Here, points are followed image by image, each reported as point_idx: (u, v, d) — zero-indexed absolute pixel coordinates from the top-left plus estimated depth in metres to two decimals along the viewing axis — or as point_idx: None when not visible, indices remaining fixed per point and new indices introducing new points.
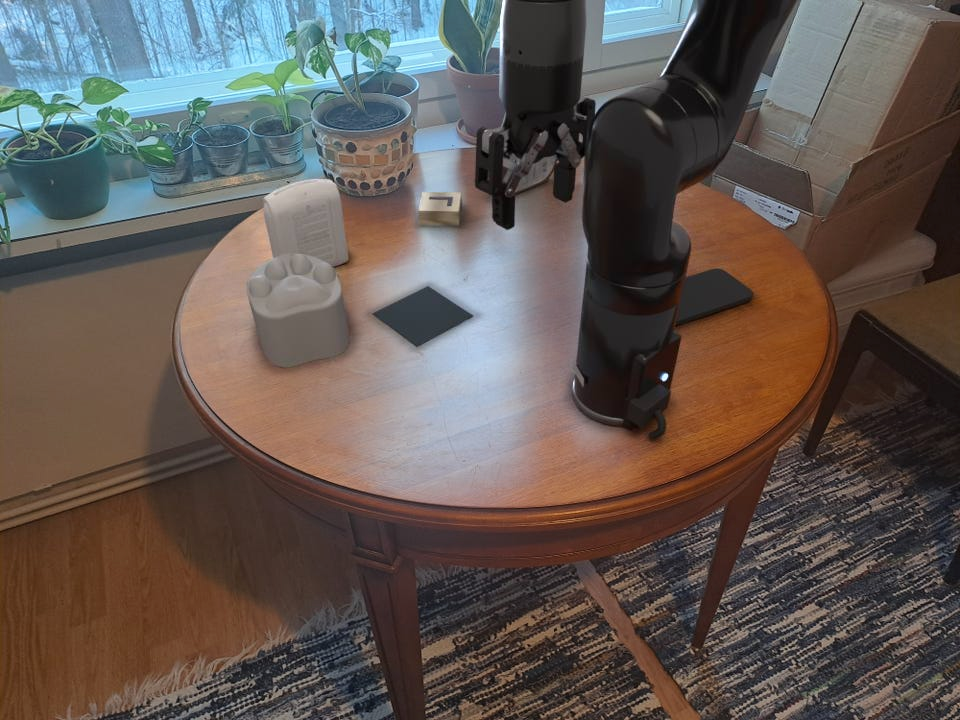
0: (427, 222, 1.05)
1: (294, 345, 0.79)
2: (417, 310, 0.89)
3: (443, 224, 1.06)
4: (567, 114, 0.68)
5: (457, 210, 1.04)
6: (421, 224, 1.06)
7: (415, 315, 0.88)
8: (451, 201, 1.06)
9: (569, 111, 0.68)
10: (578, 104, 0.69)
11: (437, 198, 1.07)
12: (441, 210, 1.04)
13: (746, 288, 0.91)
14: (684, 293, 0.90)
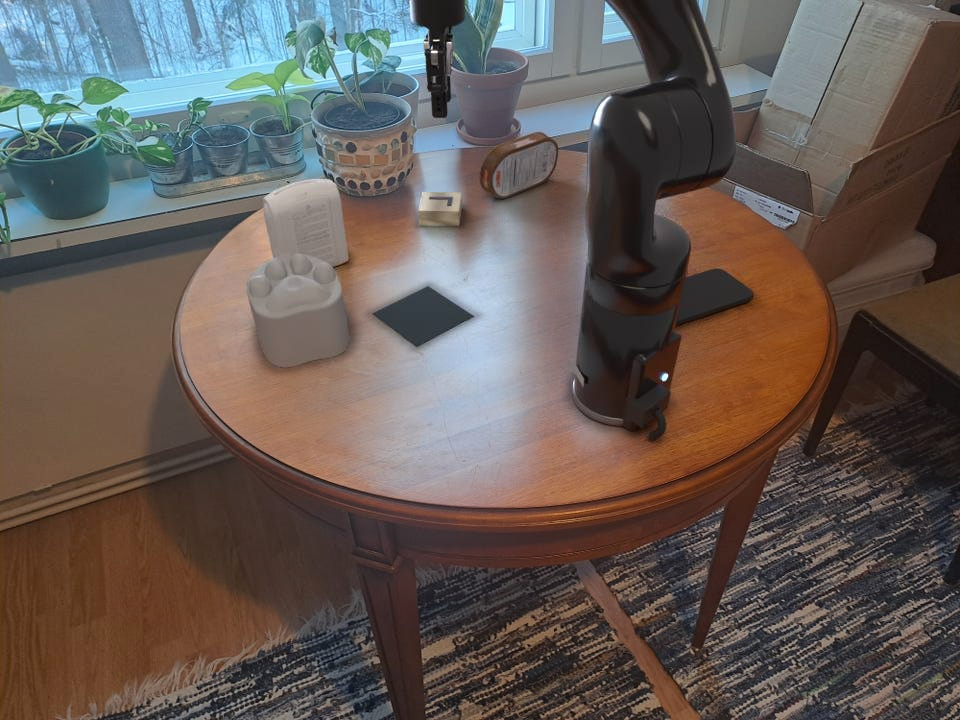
0: (427, 222, 1.05)
1: (294, 345, 0.79)
2: (417, 310, 0.89)
3: (443, 224, 1.06)
4: (448, 28, 1.01)
5: (457, 210, 1.04)
6: (421, 224, 1.06)
7: (415, 315, 0.88)
8: (451, 201, 1.06)
9: (448, 26, 1.01)
10: None
11: (437, 198, 1.07)
12: (441, 210, 1.04)
13: (746, 288, 0.91)
14: (684, 293, 0.90)
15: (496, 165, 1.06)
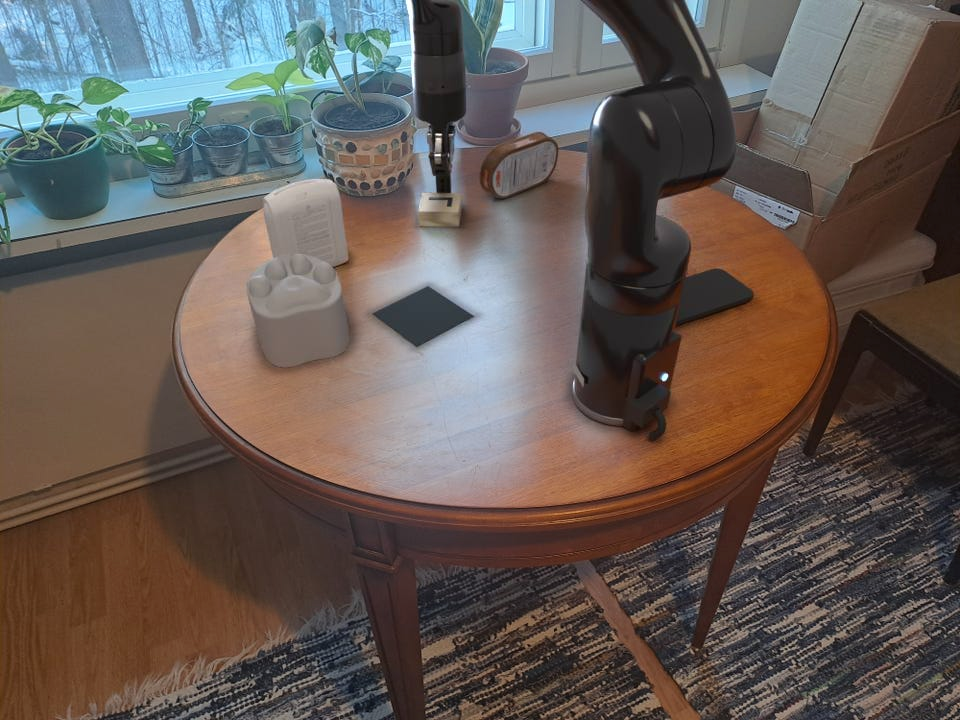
0: (427, 223, 1.05)
1: (294, 345, 0.79)
2: (417, 310, 0.89)
3: (443, 225, 1.05)
4: None
5: (457, 211, 1.04)
6: (421, 225, 1.06)
7: (415, 315, 0.88)
8: (451, 202, 1.06)
9: None
10: None
11: (437, 199, 1.07)
12: (441, 210, 1.04)
13: (746, 288, 0.91)
14: (684, 293, 0.90)
15: (496, 164, 1.06)
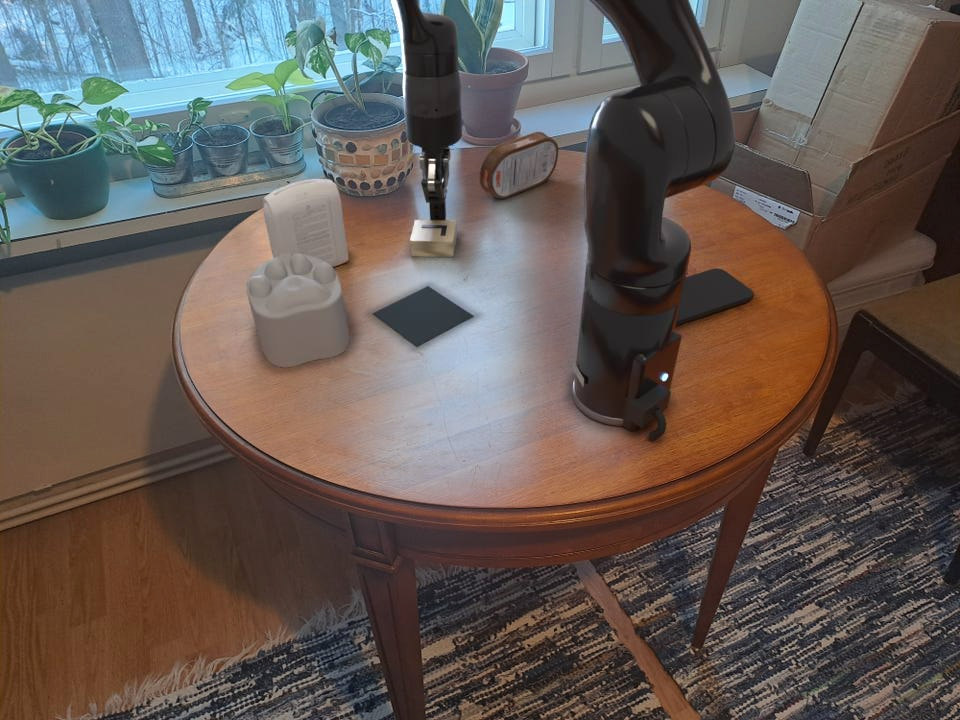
0: (419, 253, 0.99)
1: (294, 345, 0.79)
2: (417, 310, 0.89)
3: (436, 255, 0.99)
4: None
5: (451, 240, 0.98)
6: (413, 255, 0.99)
7: (415, 315, 0.88)
8: (445, 230, 1.00)
9: None
10: None
11: (430, 227, 1.00)
12: (434, 240, 0.98)
13: (746, 288, 0.91)
14: (684, 293, 0.90)
15: (496, 165, 1.06)
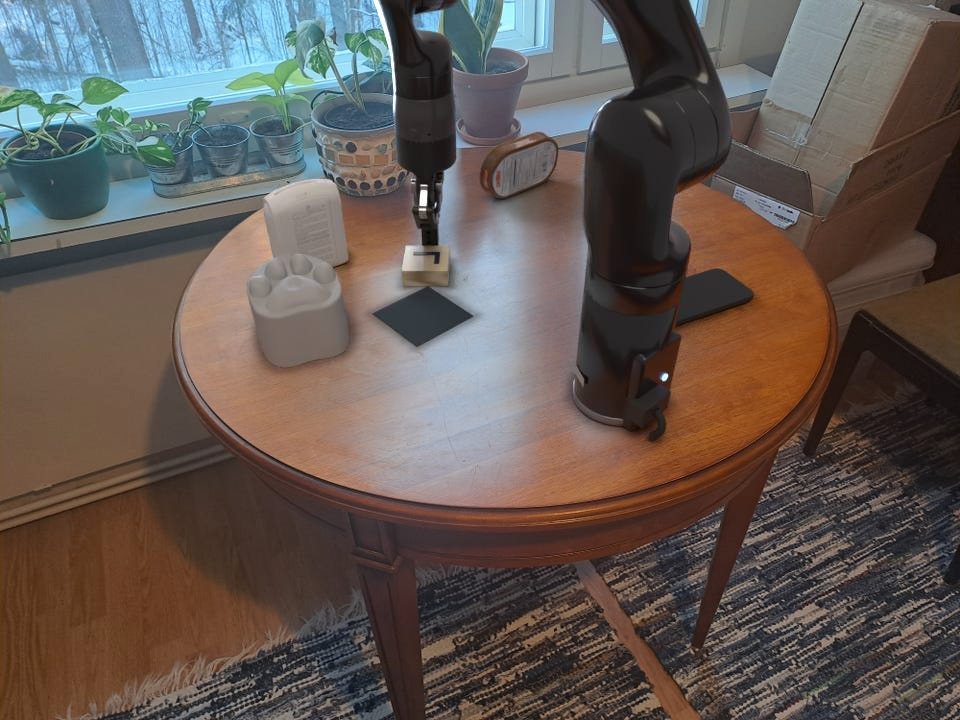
0: (412, 283, 0.93)
1: (294, 345, 0.79)
2: (417, 310, 0.89)
3: (430, 284, 0.93)
4: None
5: (446, 269, 0.92)
6: (405, 285, 0.93)
7: (415, 315, 0.88)
8: (438, 257, 0.94)
9: None
10: None
11: (422, 254, 0.95)
12: (427, 269, 0.92)
13: (746, 288, 0.91)
14: (684, 293, 0.90)
15: (496, 164, 1.06)
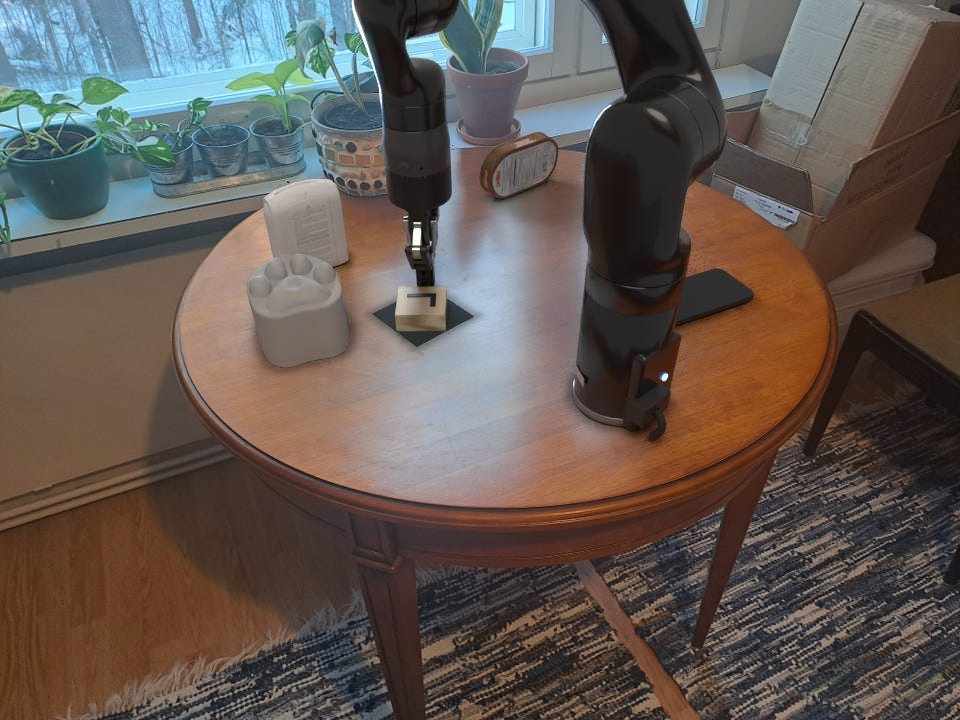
0: (406, 327, 0.86)
1: (294, 345, 0.79)
2: None
3: (426, 329, 0.86)
4: None
5: (443, 313, 0.84)
6: (399, 330, 0.86)
7: None
8: (435, 300, 0.86)
9: None
10: None
11: (417, 296, 0.87)
12: (423, 313, 0.84)
13: (746, 288, 0.91)
14: (684, 293, 0.90)
15: (496, 165, 1.06)
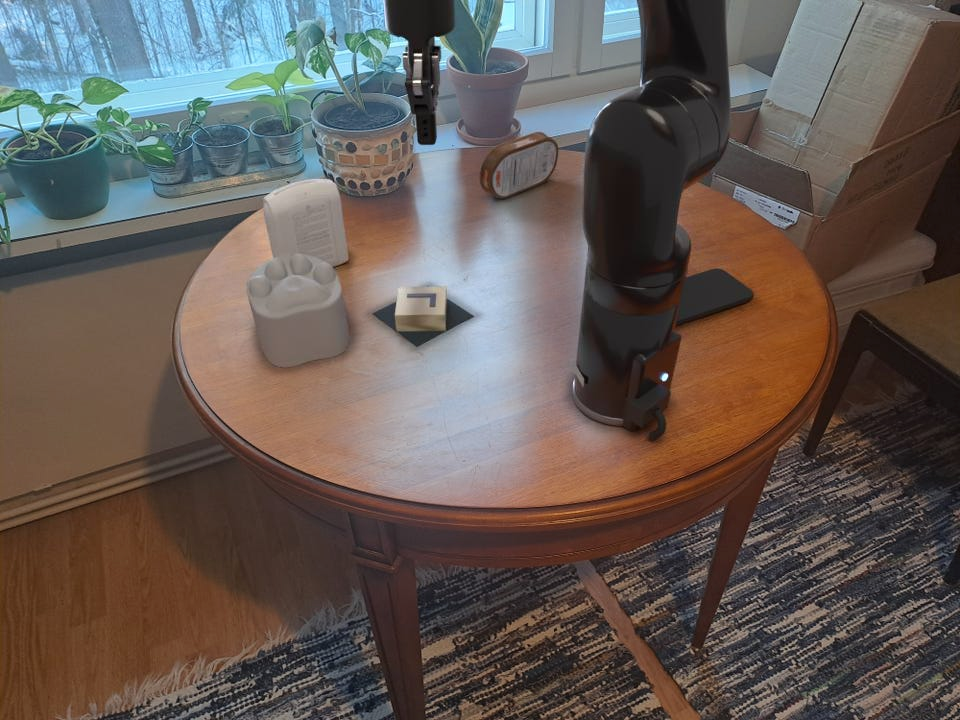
0: (406, 327, 0.86)
1: (294, 345, 0.79)
2: None
3: (426, 329, 0.86)
4: (434, 38, 0.80)
5: (443, 313, 0.84)
6: (398, 330, 0.86)
7: None
8: (434, 300, 0.86)
9: (434, 37, 0.80)
10: None
11: (417, 296, 0.87)
12: (423, 313, 0.84)
13: (746, 288, 0.91)
14: (684, 293, 0.90)
15: (496, 165, 1.06)
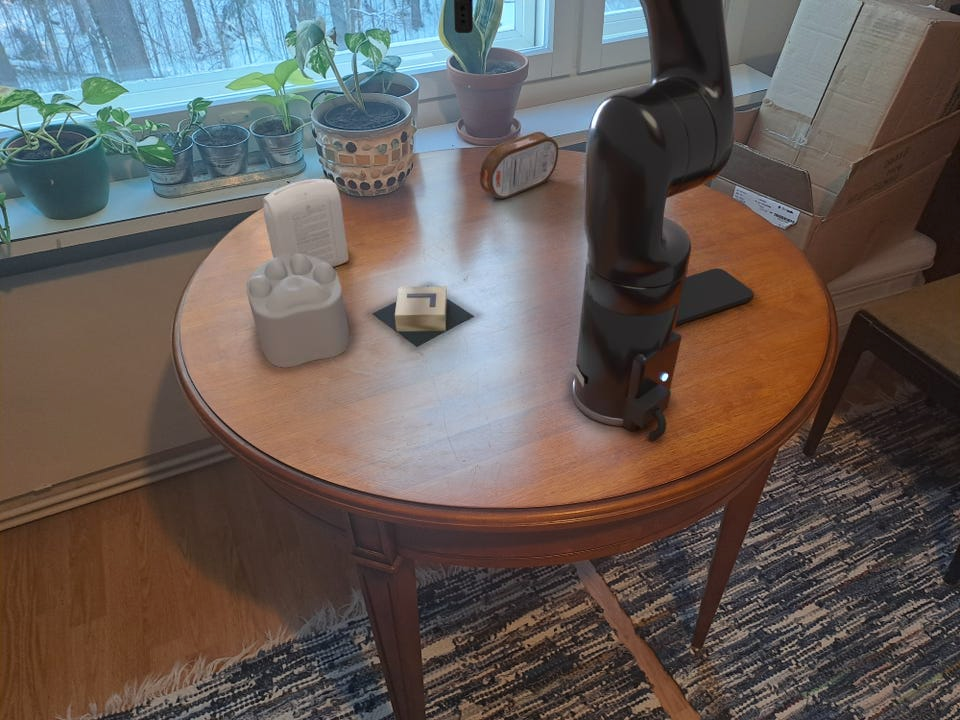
0: (406, 327, 0.86)
1: (294, 345, 0.79)
2: None
3: (426, 329, 0.86)
4: None
5: (443, 313, 0.84)
6: (398, 330, 0.86)
7: None
8: (434, 300, 0.86)
9: None
10: None
11: (417, 296, 0.87)
12: (423, 313, 0.84)
13: (746, 288, 0.91)
14: (684, 293, 0.90)
15: (496, 165, 1.06)
